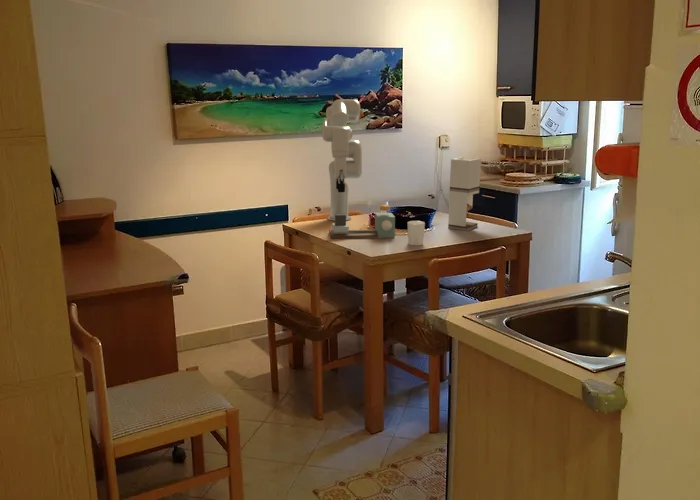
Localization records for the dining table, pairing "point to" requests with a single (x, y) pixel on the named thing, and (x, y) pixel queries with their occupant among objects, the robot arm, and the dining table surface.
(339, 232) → the carriage
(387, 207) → the button
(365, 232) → the rail board
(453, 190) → the coffee grinder
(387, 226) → the pale green block
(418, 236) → the white cup
